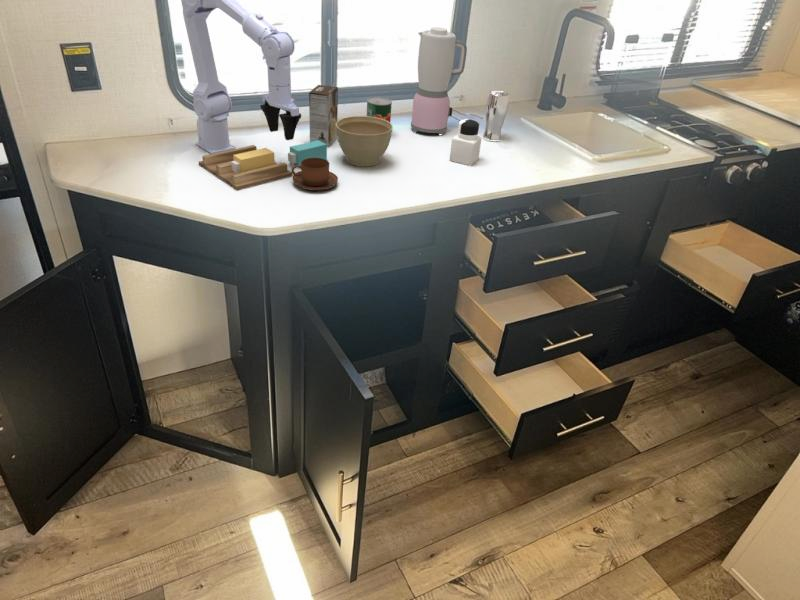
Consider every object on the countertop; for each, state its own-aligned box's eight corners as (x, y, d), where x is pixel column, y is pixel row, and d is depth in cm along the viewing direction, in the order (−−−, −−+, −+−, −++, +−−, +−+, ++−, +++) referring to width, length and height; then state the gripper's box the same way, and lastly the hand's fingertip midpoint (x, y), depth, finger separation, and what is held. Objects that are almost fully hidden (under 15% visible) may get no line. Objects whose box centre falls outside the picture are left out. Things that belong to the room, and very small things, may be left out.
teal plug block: (286, 164, 171) (286, 147, 169) (318, 156, 178) (318, 140, 175) (294, 169, 169) (294, 151, 166) (326, 160, 176) (326, 144, 173)
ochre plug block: (230, 173, 160) (229, 155, 157) (266, 165, 167) (265, 147, 164) (238, 178, 158) (237, 160, 155) (274, 169, 164) (274, 152, 162)
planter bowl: (352, 147, 186) (353, 112, 180) (399, 159, 181) (402, 123, 175) (324, 163, 174) (325, 126, 168) (374, 176, 169) (376, 138, 162)
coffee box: (318, 135, 192) (318, 83, 183) (337, 138, 192) (338, 86, 183) (309, 144, 185) (308, 91, 176) (329, 147, 184) (329, 94, 175)
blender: (410, 134, 199) (419, 31, 181) (409, 123, 209) (418, 23, 191) (457, 138, 200) (471, 35, 182) (455, 126, 210) (467, 27, 192)
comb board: (199, 164, 166) (197, 154, 164) (252, 153, 176) (252, 143, 174) (237, 190, 154) (236, 179, 153) (292, 175, 164) (292, 165, 163)
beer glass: (505, 138, 203) (513, 93, 195) (496, 143, 198) (504, 97, 190) (486, 133, 206) (494, 88, 198) (477, 138, 201) (484, 93, 193)
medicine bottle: (478, 159, 186) (484, 120, 179) (471, 166, 180) (476, 126, 174) (457, 153, 188) (462, 115, 181) (448, 161, 183) (453, 121, 176)
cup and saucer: (299, 196, 155) (299, 173, 151) (287, 178, 164) (286, 156, 160) (344, 191, 159) (344, 169, 156) (329, 173, 168) (329, 152, 164)
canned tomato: (375, 128, 202) (377, 95, 196) (394, 134, 198) (396, 101, 192) (360, 134, 196) (362, 100, 190) (379, 140, 193) (381, 106, 186)
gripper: (308, 88, 153) (309, 140, 161) (277, 75, 162) (279, 125, 170) (285, 92, 149) (286, 145, 157) (254, 78, 158) (257, 129, 165)
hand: (281, 135), depth 163 cm, fingers open, 7 cm apart
